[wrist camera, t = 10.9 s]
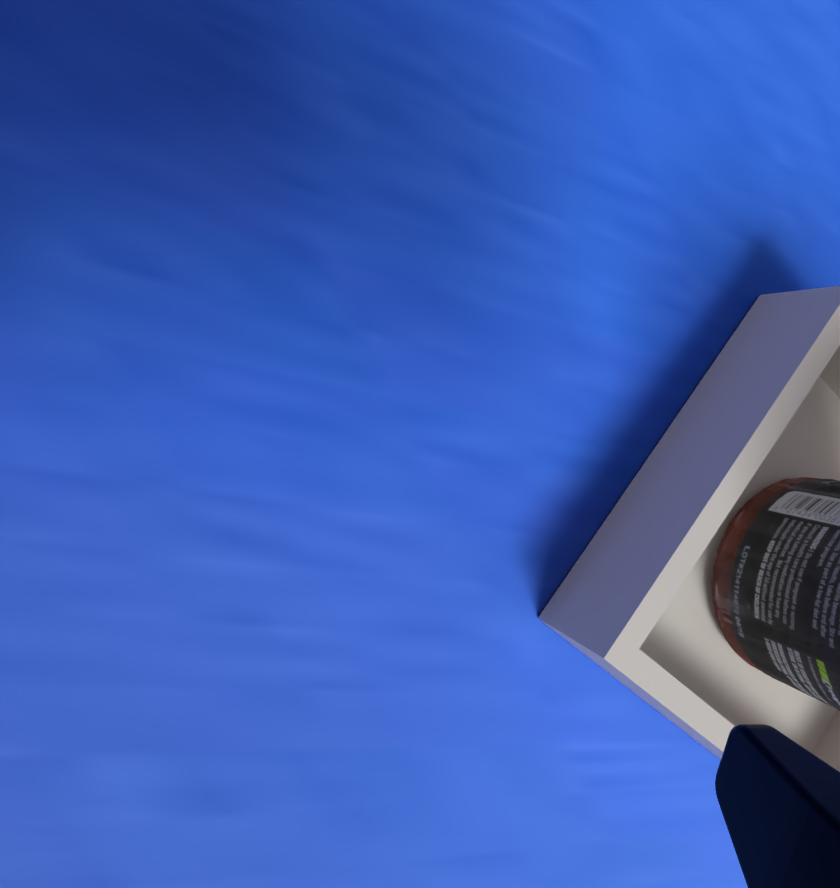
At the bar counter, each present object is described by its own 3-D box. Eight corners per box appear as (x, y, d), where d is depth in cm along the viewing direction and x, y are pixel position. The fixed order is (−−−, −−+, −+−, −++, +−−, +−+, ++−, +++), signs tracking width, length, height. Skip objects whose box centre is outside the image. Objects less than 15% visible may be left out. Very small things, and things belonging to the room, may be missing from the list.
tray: (778, 804, 25) (864, 862, 22) (537, 618, 21) (603, 658, 18) (953, 516, 26) (1054, 535, 23) (760, 294, 22) (853, 284, 19)
